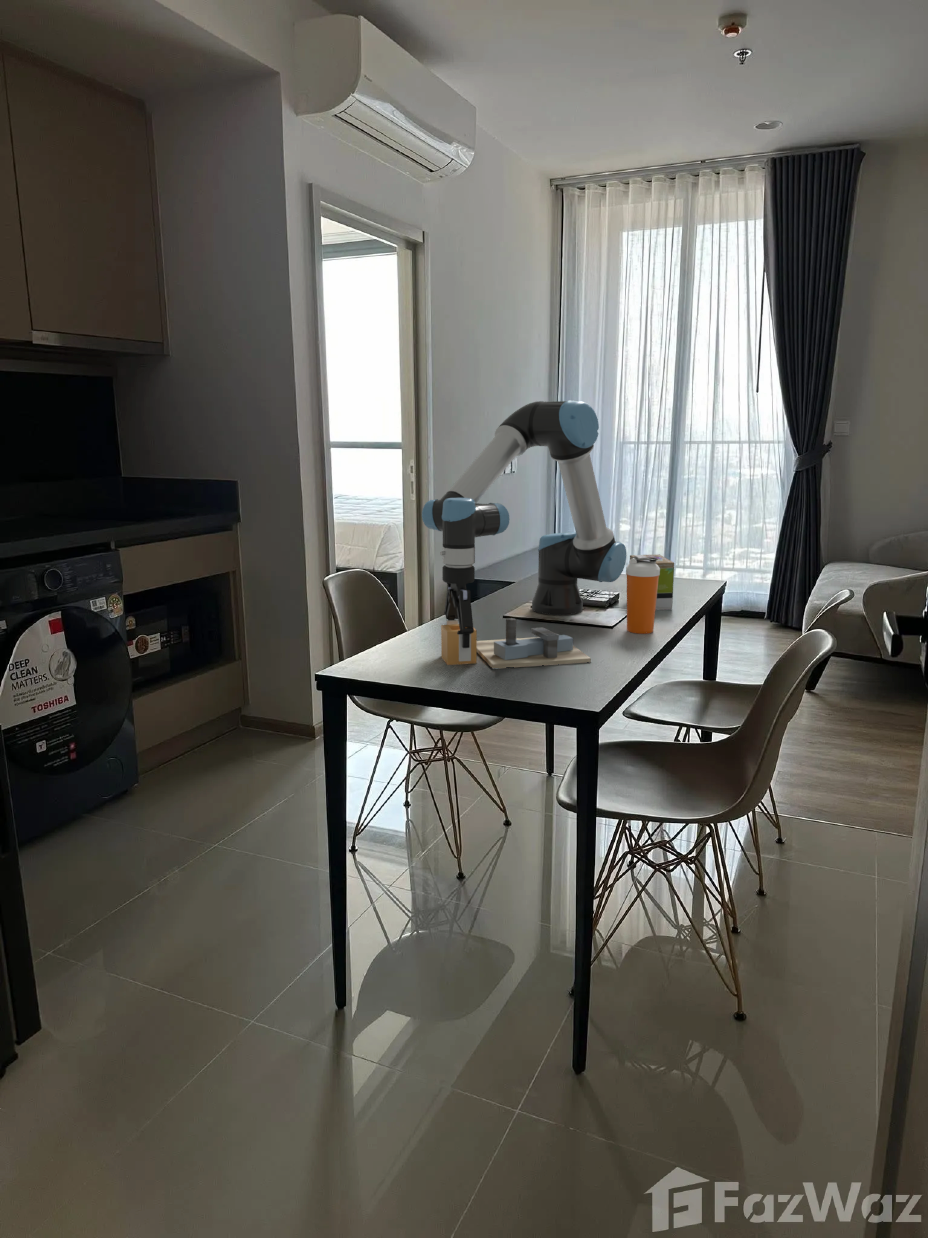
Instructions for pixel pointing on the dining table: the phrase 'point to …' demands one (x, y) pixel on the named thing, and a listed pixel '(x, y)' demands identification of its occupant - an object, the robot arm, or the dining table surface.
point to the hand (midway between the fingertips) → (458, 653)
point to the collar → (455, 645)
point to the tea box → (663, 581)
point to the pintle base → (547, 658)
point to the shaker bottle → (641, 594)
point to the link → (529, 647)
